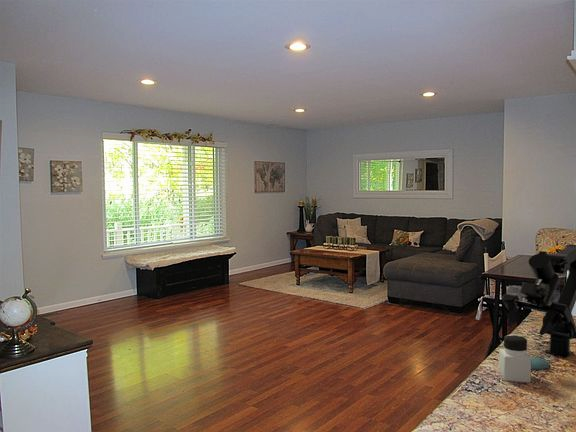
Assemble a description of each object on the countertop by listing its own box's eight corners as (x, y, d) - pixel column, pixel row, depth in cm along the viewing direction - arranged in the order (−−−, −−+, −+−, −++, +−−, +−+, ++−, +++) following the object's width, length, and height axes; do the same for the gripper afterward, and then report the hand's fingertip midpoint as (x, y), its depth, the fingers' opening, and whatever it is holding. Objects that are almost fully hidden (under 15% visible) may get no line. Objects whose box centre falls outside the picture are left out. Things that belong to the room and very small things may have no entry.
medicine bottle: (531, 383, 137) (532, 341, 136) (504, 381, 138) (505, 339, 137) (524, 373, 143) (525, 333, 143) (498, 371, 145) (499, 332, 144)
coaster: (522, 355, 158) (522, 352, 158) (554, 364, 150) (554, 361, 150) (506, 362, 152) (506, 359, 152) (538, 372, 144) (538, 369, 144)
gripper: (505, 267, 152) (485, 308, 147) (568, 277, 137) (548, 322, 132) (518, 289, 158) (498, 329, 152) (580, 300, 143) (561, 344, 137)
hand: (524, 330), depth 143 cm, fingers open, 9 cm apart
